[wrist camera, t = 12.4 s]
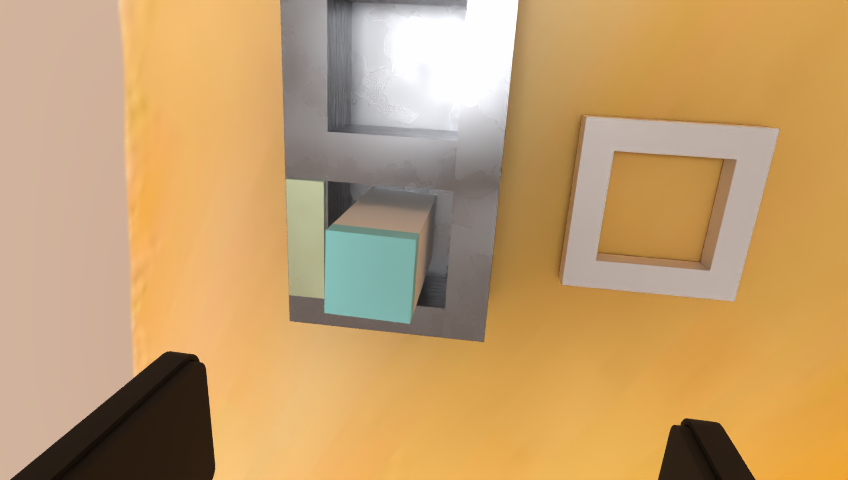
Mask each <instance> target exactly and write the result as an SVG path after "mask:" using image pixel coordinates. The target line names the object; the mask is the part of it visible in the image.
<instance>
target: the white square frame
mask: <svg viewBox="0 0 848 480" xmlns="http://www.w3.org/2000/svg"><path fill="white" fill-rule="evenodd" d="M779 130H780V129H778V128H772V127H766V126H752V125H736V124H720V123H704V122H688V121H672V120H656V119H640V118H624V117H608V116H592V115H582V119H581V126H580V133H579V140H578V146H577V153H576V160H575V167H574V174H573V181H572V188H571V195H570V202H569V209H568V215H567V222H566V229H565V236H564V243H563V250H562V257H561V264H560V271H559V278H560V281H561V284H562V285H568V286H579V287H589V288H600V289H610V290H621V291H631V292H642V293H652V294H663V295H673V296H683V297H694V298H704V299H715V300H725V301H735V298H736V294H737V290H738V286H739V283H740V279H741V275H742V271H743V267H744V264H745V260H746V256H747V252H748V248H749V245H750V241H751V237H752V233H753V229H754V226H755V222H756V218H757V214H758V210H759V206H760V203H761V199H762V195H763V191H764V187H765V184H766V180H767V176H768V172H769V168H770V165H771V161H772V157H773V153H774V149H775V146H776V142H777V138H778V134H779ZM614 151H622V152H636V153H650V154H665V155H679V156H694V157H708V158H723V159H724V163H723V167H722V171H721V175H720V180H719V184H718V188H717V193H716V197H715V201H714V205H713V210H712V214H711V218H710V222H709V227H708V231H707V235H706V240H705V244H704V248H703V252H702V257H701V261H700V262H693V261H681V260H670V259H659V258H648V257H637V256H625V255H614V254H603V253H597V250H598V244H599V238H600V232H601V226H602V221H603V215H604V209H605V203H606V197H607V191H608V185H609V179H610V173H611V167H612V161H613V155H614Z"/></svg>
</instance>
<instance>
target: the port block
mask: <svg viewBox="0 0 848 480" xmlns="http://www.w3.org/2000/svg"><path fill="white" fill-rule="evenodd" d="M280 5H281V39H282V73H283V107H284V140H285V174H286V208H287V242H288V276H289V309H290V321H294V322H303V323H312V324H322V325H331V326H340V327H349V328H359V329H368V330H377V331H386V332H396V333H405V334H414V335H423V336H433V337H442V338H451V339H460V340H469V341H479V342H484V336H485V326H486V317H487V307H488V297H489V287H490V277H491V267H492V257H493V247H494V237H495V227H496V217H497V208H498V198H499V188H500V178H501V168H502V158H503V148H504V138H505V128H506V118H507V108H508V98H509V89H510V79H511V69H512V59H513V49H514V39H515V29H516V19H517V9H518V0H280ZM371 188H375V189H385V190H395V191H404V192H414V193H424V194H434V195H437V201H436V213H435V225H434V236H433V248H432V258H431V261H430V264H429V267H428V271H427V274H426V277H425V280H424V283H423V286H422V289H421V292H420V295H419V298H418V301H417V304H416V307H415V310H414V313H413V316H412V320H411V323H410V324H407V323H399V322H391V321H384V320H376V319H368V318H360V317H352V316H344V315H336V314H328V313H324V301H325V241H326V229H327V228H329V227H330V226H331V225H332V224H333V223H334V222H335V221H336V220H337V219H338V218H339V217H340V216H342V215H343V214H344V213H345V212H346V211H347V210H348V209H349V208H350V207H351V206H352V205H353V204H354V203H356V202H357V201H358V200H359V199H360V198H361V197H362V196H363V195H364V194H365V193H366V192H367V191H369V190H370V189H371Z"/></svg>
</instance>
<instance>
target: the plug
mask: <svg viewBox="0 0 848 480" xmlns="http://www.w3.org/2000/svg"><path fill="white" fill-rule="evenodd" d="M436 201H437V195H434V194H424V193H414V192H404V191H395V190H385V189H375V188H371V189H370V190H369V191H367V192H366V193H365V194H364V195H363V196H362V197H361V198H360V199H359V200H358V201H357V202H356V203H354V204H353V205H352V206H351V207H350V208H349V209H348V210H347V211H346V212H345V213H344V214H343V215H342V216H340V217H339V218H338V219H337V220H336V221H335V222H334V223H333V224H332V225H331V226H330V227H329V228H327V229H326V241H325V301H324V313H328V314H336V315H344V316H352V317H360V318H368V319H376V320H384V321H391V322H399V323H407V324H410V323H411V320H412V316H413V313H414V310H415V307H416V304H417V301H418V298H419V295H420V292H421V289H422V286H423V283H424V280H425V277H426V274H427V271H428V267H429V264H430V261H431V258H432V248H433V236H434V225H435V213H436Z"/></svg>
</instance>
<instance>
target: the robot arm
mask: <svg viewBox="0 0 848 480" xmlns="http://www.w3.org/2000/svg"><path fill="white" fill-rule="evenodd" d="M214 472H215V459H214V448H213V438H212V427H211V417H210V406H209V396H208V385H207V375H206V368H205V365H204V364H203V363H201V362H199V359H198V357H197V356H196V355H194V354H187V353H179V352H171V351H170V352H166V353H164V354H162V355H161V356H160V357H159V358H158V359H156V360H155V361H154V362H153V363H151V364H150V365H149V366H148V367H147V368H145V369H144V370H143V371H142V372H141V373H139V374H138V375H137V376H136V377H134V378H133V379H132V380H131V381H130V382H129V383H127V384H126V385H125V386H124V387H122V388H121V389H120V390H119V391H117V392H116V393H115V394H114V395H113V396H111V397H110V398H109V399H108V400H107V401H105V402H104V403H103V404H102V405H100V406H99V407H98V408H97V409H96V410H94V411H93V412H92V413H91V414H90V415H89V416H87V417H86V418H85V419H84V420H82V421H81V422H80V423H79V424H77V425H76V426H75V427H74V428H73V429H71V430H70V431H69V432H68V433H66V434H65V435H64V436H63V437H62V438H60V439H59V440H58V441H57V442H56V443H54V444H53V445H52V446H51V447H49V448H48V449H47V450H46V451H45V452H43V453H42V454H41V455H40V456H39V457H37V458H36V459H35V460H34V461H32V462H31V463H30V464H29V465H28V466H26V467H25V468H24V469H23V470H22V471H20V472H19V473H18V474H17V475H15V476H14V477H13V478H12V479H11V480H212V479H213V476H214ZM658 480H755V478H754V477H753V475H752V473H751V472H750V470H749V469H748V467H747V465H746V464H745V462H744V461H743V459H742V457H741V456H740V454H739V453H738V451H737V449H736V448H735V446H734V444H733V443H732V441H731V440H730V438H729V436H728V435H727V433H726V432H725V430H724V428H723V427H722V426H721V425H720V424H719V423H717V422H710V421H703V420H695V419H687V418H686V419H684V420H683V421H682V422H681V425H680V426H679V425H673V426H672V427H671V430H670V433H669V437H668V441H667V445H666V450H665V454H664V458H663V462H662V466H661V470H660V474H659V478H658Z"/></svg>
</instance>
